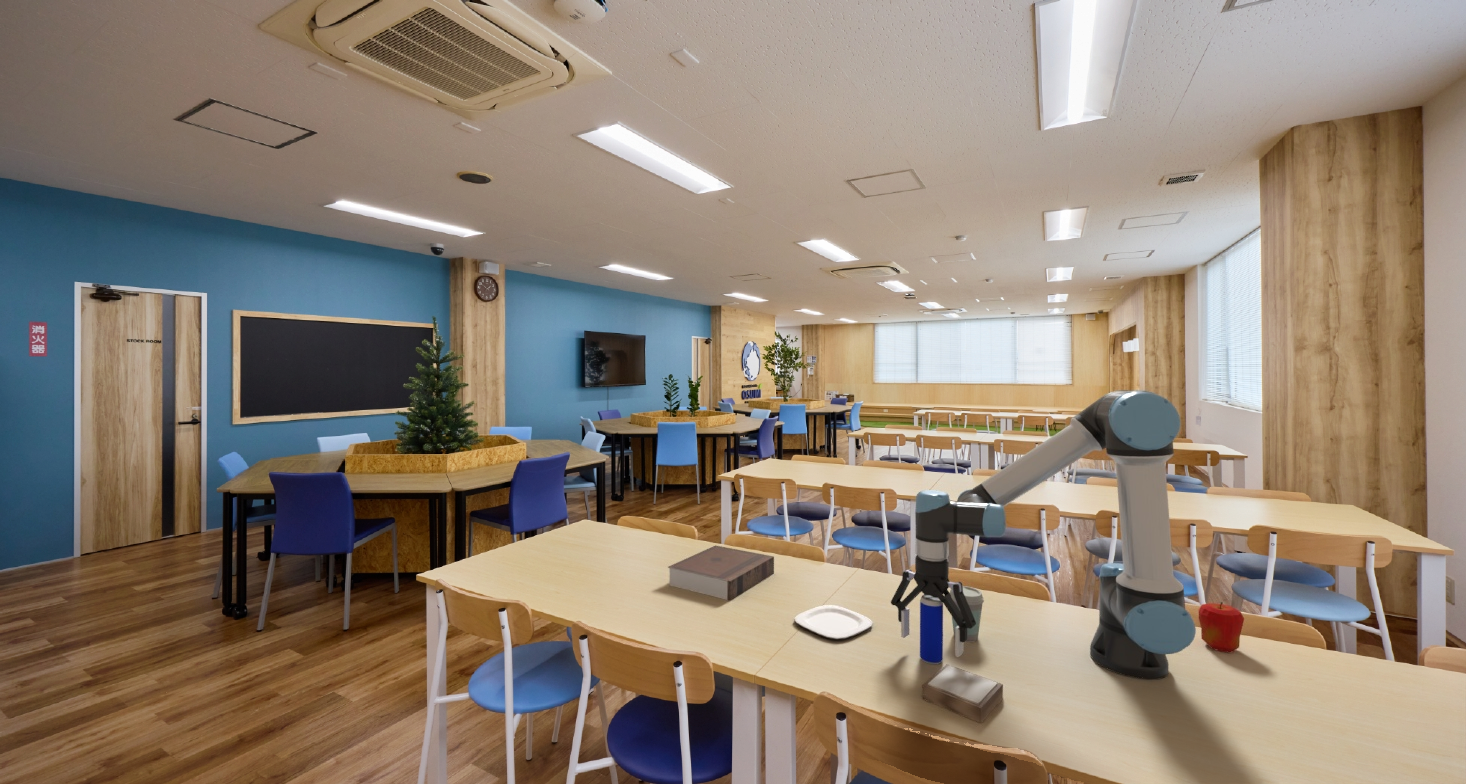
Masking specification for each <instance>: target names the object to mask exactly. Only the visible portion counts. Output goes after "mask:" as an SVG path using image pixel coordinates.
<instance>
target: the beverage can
mask: <svg viewBox="0 0 1466 784" xmlns="http://www.w3.org/2000/svg"><path fill="white" fill-rule="evenodd" d="M943 642H944V603H943V602H941V601H940V599H939V598H938V597H937V598H935V597H932V596H930V595H924V594H922V595H921V596H920V600H919V658H920V659H921V660H922V662H924V663H926V664H928V665H939V664H941V663H942V661H943V660H944V656H943V654H944V653H943V652H944V651H943V650H944V643H943Z"/></svg>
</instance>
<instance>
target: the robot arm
mask: <svg viewBox="0 0 1466 784" xmlns="http://www.w3.org/2000/svg"><path fill="white" fill-rule="evenodd" d="M1180 418H1181V417H1180V414H1179V412H1178V410H1177V408H1176V406H1175V405H1174V404H1173V403H1172V402H1171V401H1169V399H1167V398H1165V397H1164V396H1161V395H1159V394H1158V393H1157V394H1156V393H1155V392H1151V391H1147V390H1129V389H1128V390H1127V389H1126V390H1125V389H1121V390H1114V391H1111V392H1109V393H1106V394H1104V395H1103V396H1101V397H1100V398H1098V399H1097V400H1095V401H1094V402H1093V403H1091V404H1089V406H1087V407H1086V408H1085V409H1083V410H1082V411H1080V412H1079V413H1078V414H1075V415H1074V416H1073V417H1072V418H1070V423H1069V425H1067V426H1066V427H1065V428H1062V430H1060V431H1059V432H1057V433H1055V434H1053V435H1052V436H1051V437H1049V438H1047V439H1045V441H1043V442H1042V443H1040V444H1039V445H1037V446H1036V447H1034V448H1032V449H1031V450H1030V451H1028V452H1025V454H1024V455H1022V456H1020V457H1019V458H1017V459H1016V460H1014V461H1013V462H1011V463H1010V464H1008V465H1007V466H1005V467H1004V468H1002V469H1001V470H999V471H998V472H996V473H994V474H993V475H991V476H990V477H989V478H986V480H984V481H982V482H981V483H980V484H978V485H976V486H975V487H973V488H972V489H966V490H964V491H962V492H961V493H960V494H959V495H958V498H957V499H956V501H954V500H951V499H950V495H949V494H948V493H947V492H945V491H942V490H934V489H925V490H921V491H918V493H917V494H916V495H915V513H914V514H915V516H914V517H915V519H914V520H915V521H914V522H915V545H914V549H915V550H914V551H915V552H914V553H915V554H916V555H915V557H914V558H915V559H914V560H915V561H914V564H915V565H914V566H915V567H914V569H915V572H914V571H913V570H912V569H910V568H909V569H906V570H904V571H903V572H902V578H901V581H900V582H899V585H898V587H897V589H896V590H895V593H894V594H893V597H892V599H891V600H890V604H891V605H892V606H895V607H896V608H897V615H898V616H897V618H898V620H897V621H898V622H900V623H901V625H900V627H901V628H900V633H901V634H900V636H901V638H902V639H904V638H906V637H908V636H909V635H910V608H909V607H908V605H909V604H910V603H912V601H913V600H915V599H916V597H917V596H919V595H920V593H921V594H923V595H930V596H932V597H935V598H937V597H938V598H939V599H940V601H941V602H943V606H945V609H946V610H947V611H948V613H949V614H950V616H951V618H952V617H953V619H954V620H955V622H956V623H957V625H958V626H957V627H956V628H955V636H954V638H955V641H954V642H955V643H954V644H955V645H954V649H955V650H954V654H955V655H954V656H955V657H958V658H959V657H960V656H961V655H962V654H964V643H965V642H967V641H966V640H967V628H969V629H971V628H972V627H974V626H975V625H976V621H975V619H974V617H973V614H972V612H971V609H970V607H969V605H968V602H967V600H966V598H965V595H964V593H963V586H964V585H963V583H962V582H961V581H957V582H953V581H950V579H949V574H950V573H949V572H950V571H949V569H950V568H949V561H950V560H949V559H948V557H949V554H950V553H949V551H950V548H949V546H950V545H949V544H950V543H949V542H950V541H949V540H950V539H949V538H950V537H949V535H950V534H953V535H965V536H974V537H975V536H976V537H985V538H1002V537H1003V536H1004V535H1005V534H1006V524H1007V523H1006V510H1005V507H1006V506H1007V505H1009V504H1011V503H1012V502H1014V501H1016V500H1017V499H1018V498H1020V497H1022V496H1023V495H1025V494H1027V493H1028V492H1029V491H1031V490H1032V489H1034V488H1035V487H1037V486H1039V485H1040V484H1042V483H1044V482H1045V481H1047V480H1049V479H1050V478H1052V477H1053V476H1055V475H1057V474H1058V473H1060V472H1061V471H1063V470H1064V469H1066V468H1067V467H1069V466H1071V465H1072V464H1074V463H1075V462H1077V461H1078V460H1080V459H1082V458H1084V457H1085V456H1087V455H1088V454H1089V453H1091V452H1093V451H1096V452H1097V451H1099V452H1102V451H1103V450H1105V451H1106V456H1108V457H1109V458H1110V459H1112V460H1113V462H1115V472H1116V485H1117V499H1118V513H1119V528H1120V539H1121V540H1120V541H1121V542H1120V543H1121V551H1122V555H1121V556H1122V563H1118V562H1117V563H1116V562H1109V563H1104V564H1102V565H1101V567H1100V568H1099V575H1098V578H1099V605H1098V607H1099V609H1098V610H1099V611H1098V612H1099V614H1098V615H1099V618H1098V620H1099V622H1098V626H1097V628H1096V631H1095V634H1094V636H1093V638H1092V640H1091V642H1090V645H1089V646H1090V648H1089V650H1090V651H1089V653H1090V654H1089V655H1090V657H1091V659H1092V660H1093V661H1094V662H1095V663H1096V664H1098V665H1100V666H1101V667H1103V668H1105V669H1106V670H1108V671H1112V672H1113V673H1114V672H1115V673H1117V674H1120V675H1123V676H1127V677H1131V678H1135V679H1141V680H1159V679H1163V678H1166V677H1167V676H1168V675H1169V660H1168V657H1167V655H1172V654H1177V653H1179V652H1182V651H1183V650H1184V649H1186V648H1188V647H1189V646H1190V645H1191V644H1192V643H1193V641H1194V639H1195V637H1196V632H1197V631H1196V629H1197V627H1196V624H1195V622H1194V619H1193V617H1192V615H1191V613H1190V612H1189V611H1188V610H1187V609H1186V602H1185V601H1186V600H1185V590H1184V588H1185V587H1184V584H1183V583H1182V582H1181V581H1179V580H1178V578H1177V577H1175V575H1174V564H1173V551H1172V549H1173V548H1172V539H1171V525H1170V524H1171V521H1170V509H1169V508H1170V507H1169V498H1168V497H1169V496H1168V485H1167V483H1168V481H1167V471H1166V464H1167V463H1166V462H1167V461H1169V460H1170V459H1171V458H1172V457H1173V456H1174V440H1175V439H1176V437H1177V436H1178V434H1179V432H1180V430H1181V419H1180ZM913 579H914V581H915V583H916V586H915V587H914V588H913V589H912V591H911V592H909V594H908V595H906V597H905V598H903V596H904V594H905V592H906V590H907V588H908V587H909V585H910V582H911V581H912V580H913ZM949 588H950V590H951V591H952V592H953V593H954V597H955V599H956V602H957V604H958V606H959V608H958V607H957V605H956V604H955V602H954V601H953V599H952V598H951V594H950V593H949V592H950V591H949V590H948V589H949ZM902 598H903V600H902ZM959 609H960V610H959Z"/></svg>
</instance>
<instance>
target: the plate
mask: <svg viewBox="0 0 1466 784" xmlns="http://www.w3.org/2000/svg"><path fill="white" fill-rule="evenodd" d="M793 619H794V620H793V621H794V622H795V623H796V624H797V625H798V626H800V627H801V628H804V629H806V630H807V631H809V632H812V633H814V634H816V635H819V636H821V637H824V638H827V639H830V640H845V639H848V638H851V637H854V636H857V635H859V634H860V633H863V632H865V631H867V630H869V629H870V628H871V627H872V626H873V624H874V622H873V621H872V620H871V619H870V618H869V617H867V616H866V615H863V614H861V613H858V612H856V611H854V610H851V609H848V608H845V607H842V606H840V605H834V604H824V605H819V606H816V607H812V608H810V609H807V610H805V611H803V612H800V613H799V614H796V615H795V617H794V618H793Z"/></svg>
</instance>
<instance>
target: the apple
mask: <svg viewBox="0 0 1466 784" xmlns="http://www.w3.org/2000/svg"><path fill="white" fill-rule="evenodd" d="M1244 620H1245V618H1244V616H1243V613H1242V612H1241V611H1240V610H1239V609H1238V608H1235V607H1233V606H1231V605H1226V604H1223V601H1221V602H1220V603H1214V602H1210V603H1203V604H1201V605H1200V607H1199V608H1198V621H1199V624H1200V630H1201V631H1200V632H1201V640H1202V641H1203V642H1205V643H1206V644H1207V646H1208V647H1209V648H1211V649H1212V650H1216V651H1218V652H1222V653H1233V652H1234V651H1236V650H1238V649H1239V648H1240V641H1241V633H1242V629H1243V626H1244V622H1245V621H1244Z"/></svg>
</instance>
